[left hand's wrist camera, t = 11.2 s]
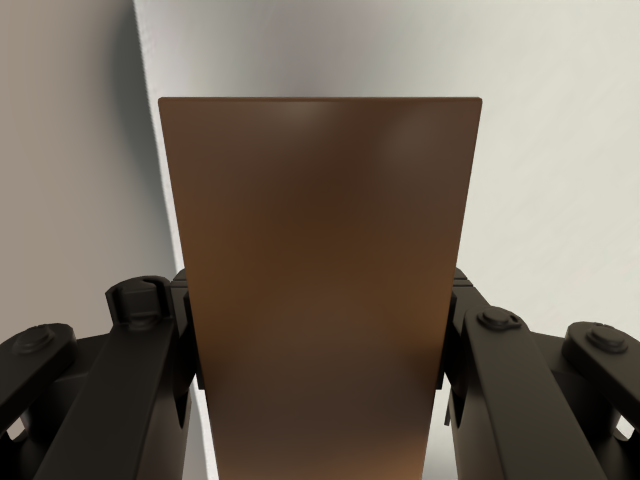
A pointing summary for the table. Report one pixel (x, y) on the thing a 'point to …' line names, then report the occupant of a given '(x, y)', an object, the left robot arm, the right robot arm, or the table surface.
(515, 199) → the table surface
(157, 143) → the table surface
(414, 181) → the post
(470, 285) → the left robot arm
